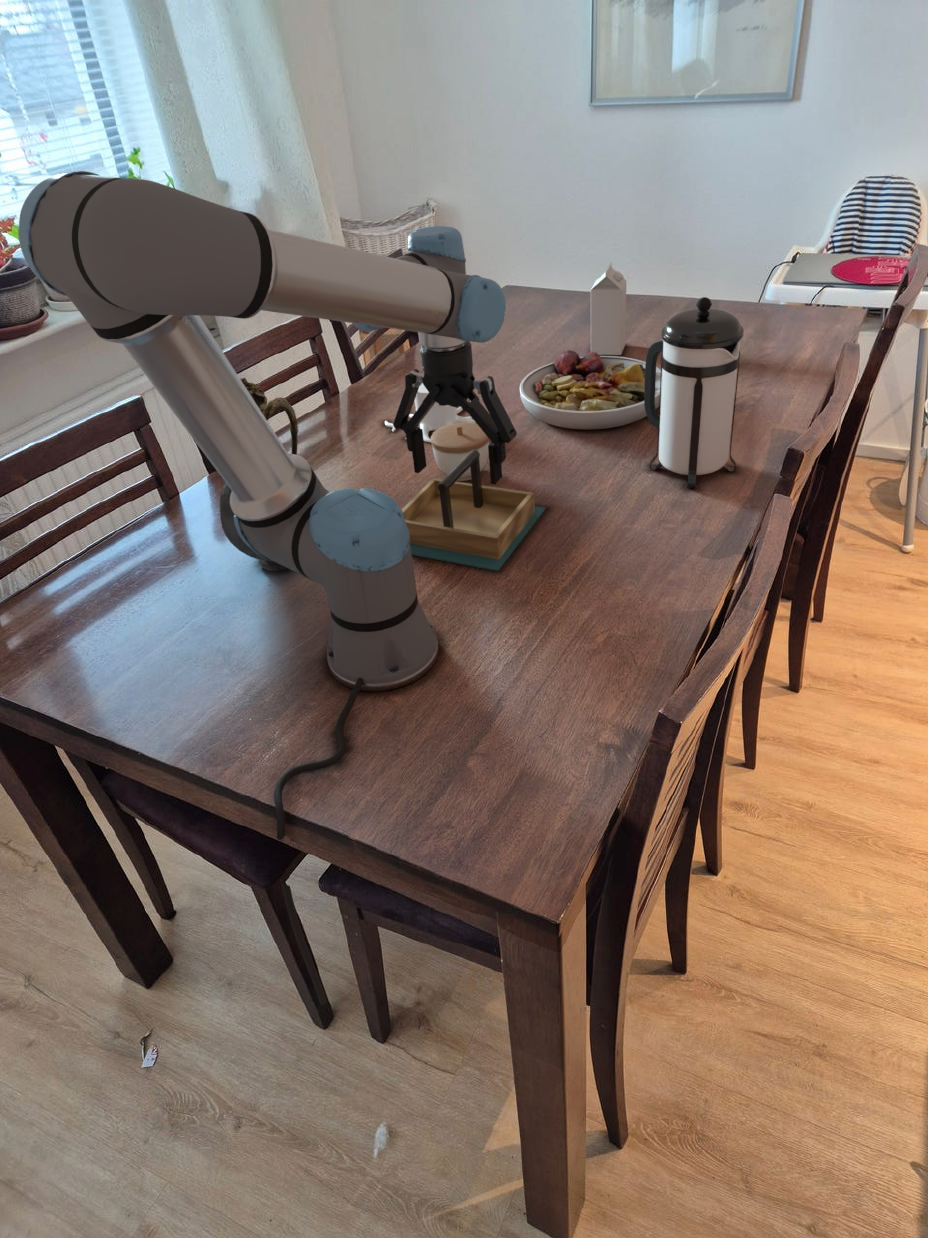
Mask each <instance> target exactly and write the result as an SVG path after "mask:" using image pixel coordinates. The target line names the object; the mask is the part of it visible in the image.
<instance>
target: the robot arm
mask: <svg viewBox="0 0 928 1238" xmlns="http://www.w3.org/2000/svg"><path fill="white" fill-rule="evenodd" d="M17 230H18V231H17V232H18V234H17V235H18V241H19V242H18V243H19V246H20V249H21V252H22V255H23V259H24V260H25V262H26V264H27V266H28V267H29V269H30V270H31V271H32V273H33V275H35V276H36V277H37V279H38V280H40V281H41V282H42V283H43V284H44V285H46V286H47V287H48V288H49V289H51V290H52V291H54V292H55V293H57V294H59V295H62V296H66V297H67V298H68V299H69V300H70V301H71V303H72V304H73V306H75V308H76V309H77V310H78V312H79V313H80V315H81V316H82V317H83V318H84V320H85V321H86V322H87V323H88V325H89V326H90V328H91V329H92V331H94V332H95V334H96V335H97V336H98V338H100V339H101V340H102V341H104V342H108V343H113V344H121V345H122V346H123V347H124V349H125V350H126V351H127V352H128V354H129V355H130V357H131V358H132V359H133V361H134V362H135V363H136V365H137V366H138V367H139V368H140V370H141V371H142V373H143V374H144V375H145V377H146V378H147V379H148V381H149V382H150V383H151V385H152V386H153V387H154V389H155V390H156V391H157V392H158V394H159V395H160V396H161V398H162V399H163V401H164V402H165V403H166V404H167V406H168V407H169V408H170V410H171V411H172V413H173V414H174V415H175V416H176V418H177V419H178V420H179V422H180V423H181V425H182V426H183V427H184V429H185V430H186V431H187V433H188V434H189V436H190V437H191V439H193V441H194V442H195V443H196V445H197V446H198V447H199V449H200V450H201V451H202V453H203V455H204V456H205V457H206V459H207V460H208V461H209V462H210V464H211V465H212V466H213V467H214V469H215V471H216V472H217V473H218V474H219V476H220V477H221V478H222V480H223V482H225V484H227V485H228V486H229V488H230V489H231V490H232V492H231V496H230V506H231V509H232V511H233V513H234V514H235V515H234V523H235V527H236V529H237V532H238V534H239V536H240V537H241V539H242V540H243V541H244V542H245V543H246V545H248V546H249V547H250V548H251V549H252V550H253V551H254V552H256V553H257V554H258V555H260V556H262V557H263V558H266V559H268V560H271V561H274V562H277V563H279V564H281V565H283V566H285V567H287V568H288V569H287V570H290V571H293V572H295V573H296V574H297V575H300V576H302V577H305V578H306V579H308V580H310V581H312V582H313V583H316V584H318V585H320V586H321V587H322V588H323V590H324V591H325V595H326V600H327V602H328V608H329V611H330V616H331V620H330V626H329V632H328V637H327V638H328V639H327V645H326V659H327V664H328V668H329V671H330V673H331V675H332V676H333V678H335V680H336V681H337V682H338V683H340V684H342V685H343V686H345V687H348V688H349V689H352V690H351V692H350V694H349V696H348V699H347V701H346V703H345V705H344V707H343V709H342V711H341V713H340V715H339V717H338V719H337V722H336V725H335V737H336V740H337V744H338V749H337V751H336V752H335V753H334V754H333V755H332V756H330V757H328V758H325V759H323V760H318V761H312V762H308V763H304V764H299V765H297V766H294V767H292V768H290V769H289V770H287V771H286V772H285V773H284V774H283V775H282V776H281V778H279V780H278V782H277V783H276V785H275V787H274V791H273V800H274V807H275V813H276V839H277V840H279V841H282V840H283V839H284V838H285V836H286V818H285V817H286V816H285V810H284V809H285V808H284V803H283V790H284V787H285V786H286V784H287V783H288V782H289V780H291V779H292V778H293V777H295V776H296V775H299V774H302V773H305V772H310V771H315V770H320V769H324V768H328V767H330V766H332V765H335V764H336V763H337V762H339V761H340V760H341V759H342V758H343V757H344V755H345V753H346V750H347V744H346V739H345V737H344V733H343V731H344V727H345V723H346V721H347V718H348V716H349V714H350V712H351V710H352V708H353V706H354V704H355V702H356V700H357V698H358V695H359V694H360V691H362V692H363V691H364V692H385V691H391V690H395V689H399V688H402V687H405V686H407V685H410V684H412V683H414V682H415V681H417V680H419V679H420V678H422V677H423V676H424V675H426V674H427V673H428V672H429V671H430V670H431V669H432V668H433V666H434V665H435V663H436V661H437V659H438V656H439V650H440V649H439V641H438V636H437V633H436V631H435V630H436V629H435V628H434V626H433V625H432V623H431V621H430V620H429V619H428V618H427V616H426V614H425V612H424V610H423V608H422V606H421V604H420V602H419V598H418V591H417V584H416V576H415V569H414V561H413V555H412V553H411V546H410V534H409V530H408V528H407V525H406V522H405V518H404V514H403V511H402V509H403V508H402V507H401V506H400V505H399V503H397V502H396V500H395V499H393V498H392V497H391V496H390V495H388V494H386V493H384V492H382V491H378V490H376V489H372V488H366V487H362V488H360V489H355V488H354V487H348V488H347V487H346V488H341V489H337V490H334V491H331V492H330V491H329V490H327V488H326V487H324V485H323V483H322V482H321V481H320V479H319V477H318V476H317V474H316V472H315V471H314V469H313V468H312V466H311V464H310V463H309V462H308V460H307V459H305V458H304V457H303V456H301V455H298V454H297V455H295V454H292V453H288V451H287V449H286V447H284V444H283V443H282V441H281V440H280V439H279V437H278V435H277V434H276V432H275V431H274V429H273V428H272V426H271V424H270V423H269V420H268V421H267V420H266V418H265V417H264V415H263V414H262V412H261V411H260V409H259V407H258V406H257V404H256V403H255V401H254V400H253V398H252V397H251V395H250V393H249V392H248V390H247V389H246V387H245V386H244V384H243V383H242V381H241V377H239V375H238V373H237V372H236V370H235V369H234V367H233V366H232V364H231V362H230V361H229V359H228V358H227V357H226V354H225V353H224V352H223V350H222V348H221V347H220V345H219V343H218V342H217V340H216V339H215V338H214V336H213V335H212V333H211V331H210V330H209V328H208V326H207V325H206V324H205V322H204V320H203V319H202V317H201V316H210V317H211V316H212V317H226V318H233V319H234V318H235V319H242V320H245V319H246V320H247V319H250V318H253V317H255V316H257V315H258V314H259V313H260V312H261V311H262V312H263V311H264V312H269V313H270V312H271V313H277V314H285V315H293V316H299V317H306V318H307V317H308V318H312V319H313V318H314V319H321V320H327V321H334V322H342V323H349V324H352V325H353V326H354V327H356V328H357V329H359V330H360V331H363V332H368V333H369V332H373V331H376V330H380V331H381V330H383V329H385V328H386V329H392V330H397V331H398V330H399V331H406V332H412V333H417V335H418V343H419V344H420V345H421V347H420V348H419V351H420V358H421V359H420V361H421V369H422V371H423V373H421V372H420V370H419V369H417V368H414V369H412V370H410V371H409V373H407V374H406V375H405V376H404V382H405V383H404V385H405V387H404V391H403V393H402V396H401V400H400V402H399V406H398V409H397V412H396V414H395V418H394V420H393V422H392V424H393V426H394V428H395V429H396V430H399V429H400V430H402V431H403V432H404V434H405V438H406V439H405V440H406V445H407V451H408V452H411V454H412V461H413V462H412V463H413V469H414V470H413V471H414V473H415V474H420V473H421V472H422V471H423V470H424V469H425V468H426V467H427V458H426V457H427V456H426V450H425V441H424V440H423V431H422V429H420V428H419V427H418V426H419V424H420V422H421V421H422V420H423V418H424V417H425V416H426V414H427V413H428V412H429V410H430V409H431V408H432V406H433V405H434V403H435V402H437V403H439V405H441V406H445V405H449V406H452V407H455V408H459V407H461V408H462V409H463V410H462V411H464V412H465V413H468V414H469V416H471V417H472V420H474V421H475V422H476V423H475V424H478V426H479V427H480V428H481V429H482V431H483V432H484V433H485V434H486V436H487V437H488V438H489V440H490V444H489V445H488V451H489V459H488V464H489V478H490V485H494V486H495V485H497V483H498V482H499V481H501V480H502V478H503V468H502V464H503V463H504V462H505V461H506V459H507V452H506V451H507V450H506V449H507V448H506V444H509V443H510V442H511V441H513V439H515V437H517V434H518V433H517V430H516V427H515V426H514V424H513V422H512V421H511V418H510V416H509V415H508V413H507V411H506V408H505V407H504V405H503V403H502V400H501V399H500V397H499V395H498V393H497V391H496V387H495V381H494V377H493V376H491V375H488V376H486V377H485V378H476V377H475V376H474V373H473V370H474V369H473V367H474V362H473V350H472V349H473V348H472V343H480V344H483V343H487V342H490V341H491V340H493V339H494V338H495V337H496V336H497V334H498V333H499V332H500V330H501V328H502V326H503V324H504V322H505V316H506V315H505V314H506V313H505V312H506V311H507V303H506V302H507V301H506V297H505V294H504V291H503V289H502V287H501V285H500V284H499V283H498V282H497V281H495V280H493V279H491V278H487V277H482V276H480V275H477V274H467V271H466V270H467V269H466V262H467V259H466V256H465V255H466V254H465V248H464V242H463V237H462V233H461V232H460V230H459V229H458V228H455V227H453V226H447V225H446V226H445V225H436V226H427V227H422V228H418V229H415V230H413V231H412V232H411V233H410V234H409V235H408V237H407V244H408V245H407V251H408V252H407V253H405V254H403V255H400V256H398V257H391V256H386V255H381V254H377V253H373V252H369V251H364V250H360V249H355V248H351V247H346V246H343V245H338V244H334V243H330V242H325V241H321V240H317V239H312V238H309V237H308V238H307V237H303V236H299V235H296V234H295V235H294V234H290V233H285V232H282V231H277V230H273V229H268V227H267V225H266V224H265V222H264V221H263V220H262V219H261V218H260V217H259V216H257V215H255V214H253V213H250V212H245V211H241V210H237V209H234V208H230V207H227V206H224V205H222V204H218V203H215V202H212V201H209V200H206V199H205V198H204V199H203V198H202V197H201V198H200V197H198V196H195V195H192V194H190V193H188V192H185V191H182V190H180V189H177V188H174V187H171V186H169V185H165V184H162V183H160V182H156V181H153V180H150V179H145V178H138V177H120V176H109V175H100V174H98V173H95V172H91V171H86V170H79V171H78V170H77V171H71V172H67V173H59V174H55V175H52V176H49V177H47V178H45V179H44V180H42V181H40V182H39V183H38V184H37V185H36V186H34V188H32V190H31V191H30V192H29V194H28V195H27V197H26V198H25V200H24V201H23V204H22V206H21V209H20V213H19V221H18V229H17ZM471 342H472V343H471ZM422 383H423V385H424V386H425V388H426V389H427V390H428V392H429V394H428V395H427V396H426V398H425V399H424V400H423V403H422V404H421V405H420V407H419V408H418V410H417V411H416V410H415V412H414V413H413V414H414V415H413V416H412V418H409V414H411V411H412V408H413V405H414V404H415V397H416V395H417V392H418V389H419V386H420V385H421V384H422ZM475 389H476V390H477V393H475ZM477 394H478V395H480V396H481V399H482V402H483V404H484V405H483V404H482V403H481V400H480V397H479V396H478V395H477ZM468 400H469V401H468ZM484 406H485V407H486V408H485V407H484ZM281 888H282V894H283V897H284V902H285V906H286V910H287V914H288V918H289V921H290V925H291V928H292V932H293V933H294V937H295V940H296V943H297V945H298V948H299V951H300V954H301V955H302V956H301V957H302V959H303V961H304V963H305V965H306V968H307V971H308V974H309V976H310V978H311V981H312V985H313V986H314V990H315V993H316V995H317V998H318V1002H319V1004H320V1005H321V1006H325V1005H326V1004H327V1003H328V1002H327V1001H328V999H327V998H326V994H325V992H324V989H323V985H322V982H321V979H320V976H319V974H318V971H317V969H316V966H315V963H314V961H313V959H312V956H311V953H310V951H309V947H308V945H307V942H306V940H305V937H304V935H303V932H302V928H301V924H300V921H299V918H298V915H297V911H296V906H295V903H294V898H293V893H292V889H291V885H288V884H286V883H282V882H281Z"/></svg>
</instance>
